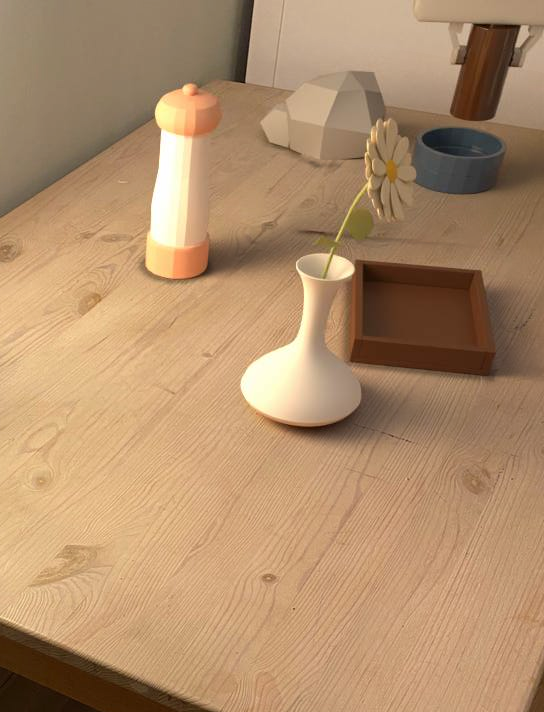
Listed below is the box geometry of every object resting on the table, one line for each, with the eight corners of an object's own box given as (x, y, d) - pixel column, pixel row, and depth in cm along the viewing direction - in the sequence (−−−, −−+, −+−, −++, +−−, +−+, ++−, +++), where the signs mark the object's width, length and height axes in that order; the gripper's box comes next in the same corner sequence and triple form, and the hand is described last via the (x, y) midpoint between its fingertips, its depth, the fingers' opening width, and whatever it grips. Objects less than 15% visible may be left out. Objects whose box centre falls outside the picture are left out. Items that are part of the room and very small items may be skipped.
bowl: (490, 168, 130) (502, 129, 126) (497, 201, 122) (510, 161, 119) (406, 162, 131) (415, 123, 128) (408, 195, 124) (418, 155, 120)
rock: (238, 141, 137) (247, 66, 130) (322, 107, 146) (334, 36, 139) (342, 177, 128) (357, 99, 121) (424, 138, 137) (443, 64, 130)
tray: (474, 292, 106) (481, 270, 104) (487, 375, 95) (496, 352, 93) (350, 281, 108) (355, 259, 106) (349, 361, 97) (354, 338, 95)
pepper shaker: (163, 284, 108) (176, 101, 94) (134, 257, 113) (143, 79, 99) (218, 271, 110) (239, 90, 96) (188, 245, 115) (203, 69, 101)
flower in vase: (292, 452, 86) (351, 166, 68) (214, 394, 93) (249, 118, 74) (395, 408, 91) (476, 129, 72) (314, 355, 97) (370, 88, 79)
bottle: (493, 107, 122) (529, -20, 112) (497, 122, 118) (534, -8, 108) (448, 105, 123) (480, -22, 113) (450, 120, 119) (483, -9, 109)
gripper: (429, -69, 106) (399, 69, 116) (623, -65, 103) (576, 76, 113) (426, -81, 110) (398, 53, 120) (613, -78, 107) (568, 60, 117)
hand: (485, 64), depth 117 cm, fingers closed on bottle, 5 cm apart
